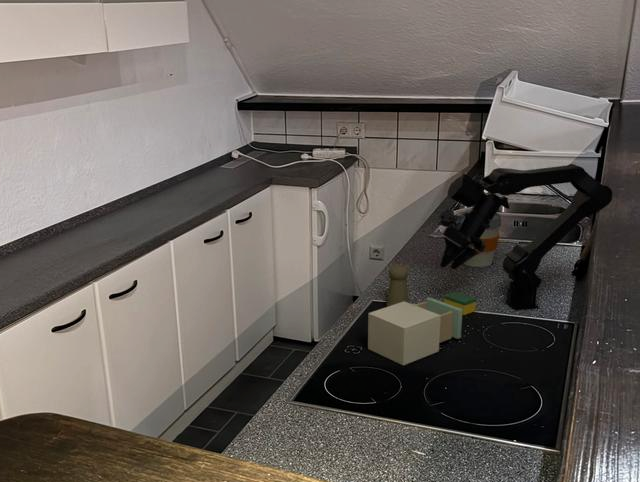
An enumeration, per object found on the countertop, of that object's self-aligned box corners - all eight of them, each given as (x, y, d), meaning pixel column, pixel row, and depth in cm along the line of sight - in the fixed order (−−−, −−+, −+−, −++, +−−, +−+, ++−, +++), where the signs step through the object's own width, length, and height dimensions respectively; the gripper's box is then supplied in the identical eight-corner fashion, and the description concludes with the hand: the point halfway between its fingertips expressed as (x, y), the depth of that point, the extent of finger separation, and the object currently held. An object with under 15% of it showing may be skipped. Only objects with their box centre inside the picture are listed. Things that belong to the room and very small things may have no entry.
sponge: (443, 307, 202) (444, 295, 200) (454, 303, 204) (455, 291, 203) (463, 315, 196) (464, 302, 195) (475, 311, 199) (476, 298, 198)
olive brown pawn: (408, 309, 201) (409, 270, 197) (385, 308, 202) (386, 269, 198) (409, 301, 207) (410, 262, 203) (387, 300, 208) (388, 262, 204)
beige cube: (403, 336, 185) (404, 301, 182) (438, 351, 177) (440, 315, 173) (367, 349, 179) (368, 313, 176) (403, 365, 170) (404, 328, 167)
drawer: (431, 323, 190) (433, 296, 187) (464, 336, 182) (466, 308, 179) (398, 335, 183) (398, 307, 181) (430, 349, 176) (431, 320, 173)
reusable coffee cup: (449, 265, 234) (452, 217, 228) (464, 254, 243) (467, 208, 238) (489, 271, 227) (493, 222, 222) (503, 259, 237) (507, 213, 231)
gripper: (464, 203, 203) (433, 253, 207) (443, 194, 187) (409, 248, 191) (499, 225, 198) (466, 275, 202) (481, 217, 182) (446, 272, 186)
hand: (447, 267), depth 196 cm, fingers open, 9 cm apart
